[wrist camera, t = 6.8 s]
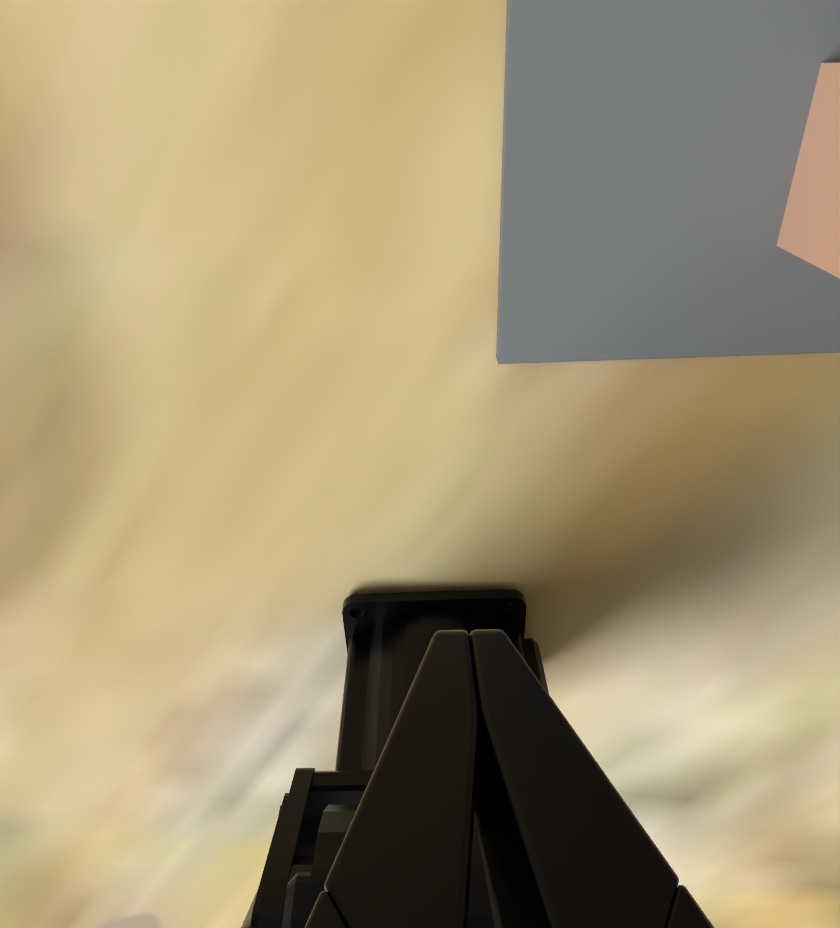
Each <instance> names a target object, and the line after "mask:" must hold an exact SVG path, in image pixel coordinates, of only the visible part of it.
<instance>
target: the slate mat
mask: <svg viewBox="0 0 840 928" xmlns="http://www.w3.org/2000/svg"><path fill="white" fill-rule="evenodd" d="M829 62H840V0H507V24H506V57H505V89H504V122H503V155H502V188H501V221H500V254H499V287H498V320H497V353H496V358H497V361H498V364H513V363H542V362H572V361H601V360H631V359H660V358H690V357H719V356H748V355H778V354H807V353H837V352H840V279H839V278H837V277H836V276H834V275H832V274H830V273H828V272H826V271H824V270H822V269H820V268H818V267H816V266H814V265H813V264H811V263H809V262H807V261H805V260H803V259H801V258H799V257H797V256H795V255H793V254H791V253H790V252H788V251H786V250H784V249H782V248H780V247H778V246H776V245H777V241H778V237H779V233H780V229H781V225H782V221H783V217H784V213H785V209H786V205H787V201H788V197H789V192H790V188H791V184H792V180H793V176H794V172H795V168H796V164H797V160H798V156H799V152H800V148H801V144H802V140H803V135H804V131H805V127H806V123H807V119H808V115H809V111H810V107H811V103H812V99H813V95H814V91H815V87H816V83H817V78H818V74H819V70H820V66H821V63H829Z"/></svg>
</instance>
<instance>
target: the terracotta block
mask: <svg viewBox="0 0 840 928" xmlns="http://www.w3.org/2000/svg"><path fill="white" fill-rule="evenodd" d="M776 246H778V247H780V248H782V249H784V250H786V251H788V252H790V253H791V254H793V255H795V256H797V257H799V258H801V259H803V260H805V261H807V262H809V263H811V264H813V265H814V266H816V267H818V268H820V269H822V270H824V271H826V272H828V273H830V274H832V275H834V276H836V277H837V278H839V279H840V62H829V63H821V66H820V70H819V74H818V78H817V83H816V87H815V91H814V95H813V99H812V103H811V107H810V111H809V115H808V119H807V123H806V127H805V131H804V135H803V140H802V144H801V148H800V152H799V156H798V160H797V164H796V168H795V172H794V176H793V180H792V184H791V188H790V192H789V197H788V201H787V205H786V209H785V213H784V217H783V221H782V225H781V229H780V233H779V237H778V241H777V245H776Z"/></svg>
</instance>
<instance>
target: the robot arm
mask: <svg viewBox="0 0 840 928" xmlns="http://www.w3.org/2000/svg"><path fill="white" fill-rule="evenodd" d="M508 603H515V604H514V605H507V604H508ZM355 607H357V608H360V610H355V609H353V608H355ZM342 614H343V622H344V630H345V638H346V645H347V653H348V657H347V666H346V676H345V685H344V694H343V703H342V712H341V722H340V731H339V740H338V749H337V759H336V768H335V771H315V768H296V770H295V774H294V778H293V781H292V785H291V789H290V792H289V793H285V796H284V799H283V803H282V805H281V806H280V811H279V817H278V821H277V824H276V828H275V831H274V835H273V838H272V842H271V846H270V849H269V853H268V856H267V860H266V864H265V867H264V871H263V874H262V878H261V881H260V885H259V888H258V891H257V893H256V895H255V897H254V900H253V902H252V904H251V907H250V909H249V911H248V913H247V916H246V918H245V920H244V923H243V925H242V927H241V928H714V927H713V925H712V924H711V922H710V921H709V920H708V918H707V917H706V915H705V914H704V913H703V911H702V910H701V908H700V907H699V905H698V904H697V903H696V901H695V900H694V898H693V897H692V895H691V894H690V893H689V891H688V890H687V888H686V887H685V886H683V885H679V886H678V883H679V879H678V876H677V875H676V873H675V872H674V871H673V869H672V868H671V866H670V865H669V864H668V862H667V861H666V859H665V858H664V857H663V855H662V854H661V852H660V851H659V849H658V848H657V847H656V845H655V844H654V842H653V841H652V840H651V838H650V837H649V835H648V834H647V832H646V831H645V830H644V828H643V827H642V825H641V824H640V823H639V821H638V820H637V818H636V817H635V816H634V814H633V813H632V811H631V810H630V808H629V807H628V806H627V804H626V803H625V801H624V800H623V799H622V797H621V796H620V794H619V793H618V792H617V790H616V789H615V787H614V786H613V784H612V783H611V782H610V780H609V779H608V777H607V776H606V775H605V773H604V772H603V770H602V769H601V768H600V766H599V765H598V763H597V762H596V760H595V759H594V758H593V756H592V755H591V753H590V752H589V751H588V749H587V748H586V746H585V745H584V744H583V742H582V741H581V739H580V738H579V736H578V735H577V734H576V732H575V731H574V729H573V728H572V727H571V725H570V724H569V722H568V721H567V720H566V718H565V717H564V715H563V714H562V712H561V711H560V710H559V708H558V707H557V705H556V704H555V703H554V701H553V700H552V698H551V697H550V695H549V693H548V688H547V683H546V679H545V674H544V669H543V665H542V660H541V655H540V651H539V646H538V643H537V642H536V641H534V640H533V639H532V638H527V639H524V631H525V617H526V604H525V599H524V595H523V594H522V593H521V592H519V591H517V590H480V591H448V592H416V593H383V594H355V595H350V596H349V597H347V598H346V599H345V600H344V604H343V612H342ZM677 886H678V887H677Z"/></svg>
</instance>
